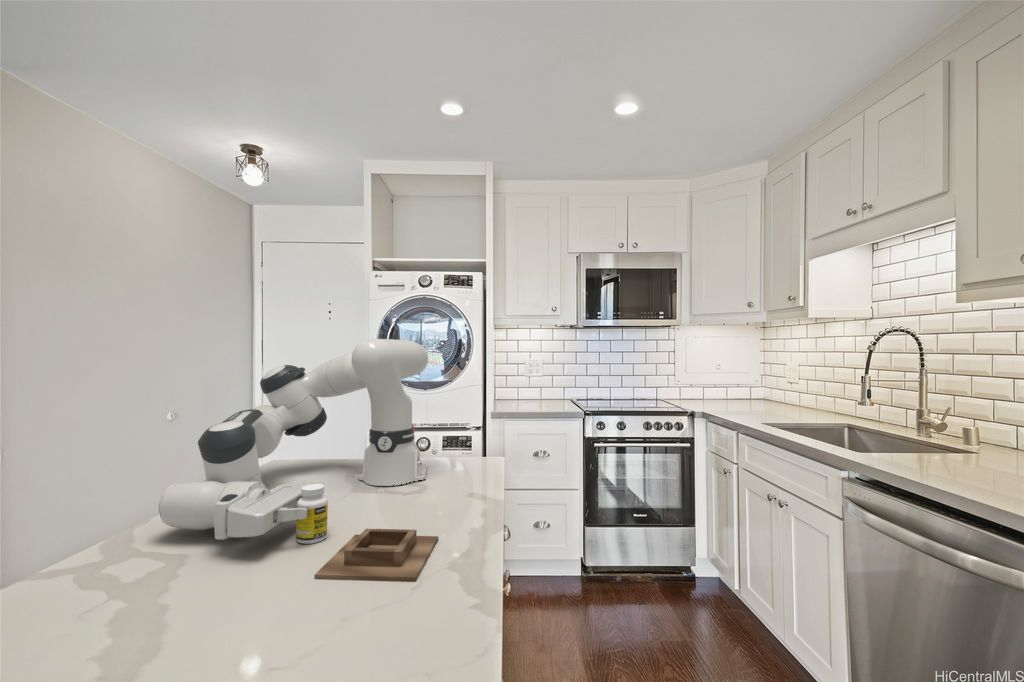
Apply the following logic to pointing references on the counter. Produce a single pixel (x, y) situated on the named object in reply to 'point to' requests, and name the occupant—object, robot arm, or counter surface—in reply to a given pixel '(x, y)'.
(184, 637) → the counter surface
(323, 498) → the supplement bottle
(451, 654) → the counter surface
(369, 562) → the walnut can holder
